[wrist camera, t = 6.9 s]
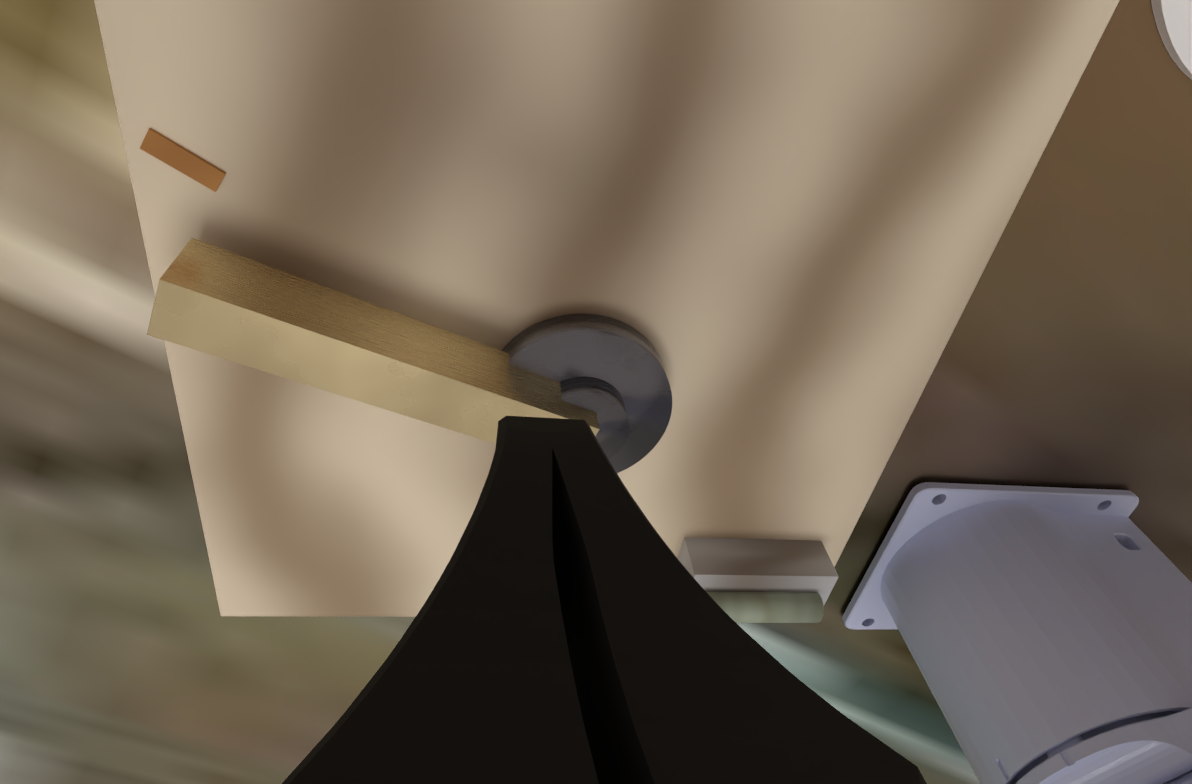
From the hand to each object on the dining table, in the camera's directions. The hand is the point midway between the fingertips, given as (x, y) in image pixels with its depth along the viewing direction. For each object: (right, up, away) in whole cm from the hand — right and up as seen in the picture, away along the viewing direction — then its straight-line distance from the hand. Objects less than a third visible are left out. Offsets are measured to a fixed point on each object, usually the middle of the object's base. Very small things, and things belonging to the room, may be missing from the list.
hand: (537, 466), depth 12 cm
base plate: (0, +3, +10) cm, 10 cm away
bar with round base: (-3, +2, +7) cm, 8 cm away
